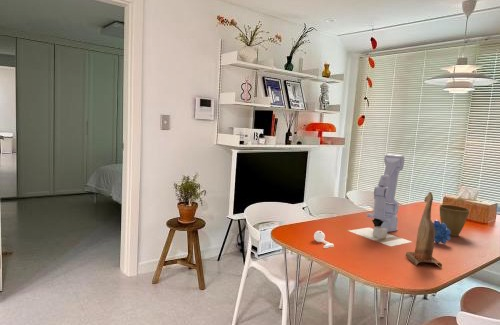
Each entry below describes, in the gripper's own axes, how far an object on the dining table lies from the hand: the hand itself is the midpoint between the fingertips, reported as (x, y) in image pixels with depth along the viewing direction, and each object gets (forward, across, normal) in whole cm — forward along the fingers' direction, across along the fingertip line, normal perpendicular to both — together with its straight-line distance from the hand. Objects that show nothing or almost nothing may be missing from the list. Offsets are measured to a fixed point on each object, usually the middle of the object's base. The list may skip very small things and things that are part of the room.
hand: (376, 232), depth 192 cm
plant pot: (+1, +16, +45) cm, 48 cm away
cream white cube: (+1, +3, -1) cm, 3 cm away
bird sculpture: (+2, +35, -14) cm, 38 cm away
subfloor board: (+2, +1, 0) cm, 2 cm away
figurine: (+2, -2, -39) cm, 39 cm away
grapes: (+2, +22, +20) cm, 30 cm away
